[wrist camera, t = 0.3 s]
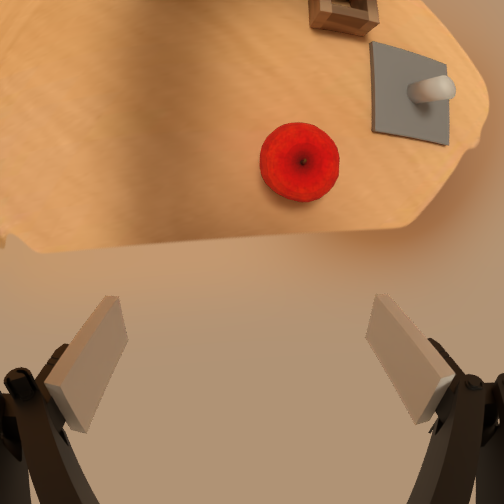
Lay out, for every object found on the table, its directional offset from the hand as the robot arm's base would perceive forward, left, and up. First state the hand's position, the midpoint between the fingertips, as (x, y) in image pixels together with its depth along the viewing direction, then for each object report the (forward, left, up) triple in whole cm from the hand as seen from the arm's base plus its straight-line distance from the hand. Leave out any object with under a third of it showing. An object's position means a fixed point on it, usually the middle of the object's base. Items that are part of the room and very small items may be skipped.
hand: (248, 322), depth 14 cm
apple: (-7, +6, -27) cm, 29 cm away
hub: (-31, +13, -27) cm, 43 cm away
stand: (-19, +25, -27) cm, 42 cm away
